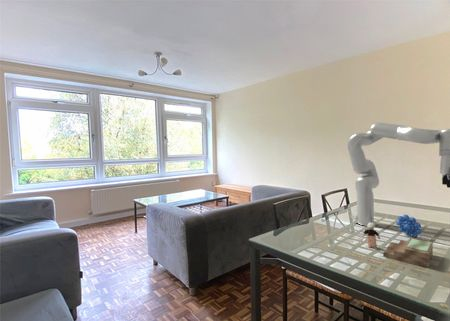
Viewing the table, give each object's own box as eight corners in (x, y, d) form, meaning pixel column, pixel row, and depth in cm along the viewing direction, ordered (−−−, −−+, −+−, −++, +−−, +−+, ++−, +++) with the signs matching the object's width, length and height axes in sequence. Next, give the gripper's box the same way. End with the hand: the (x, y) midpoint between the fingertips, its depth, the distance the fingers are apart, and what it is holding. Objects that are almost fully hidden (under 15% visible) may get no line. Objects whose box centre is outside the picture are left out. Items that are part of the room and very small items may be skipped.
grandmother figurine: (379, 246, 121) (379, 222, 121) (380, 249, 118) (380, 224, 117) (362, 244, 125) (361, 220, 124) (363, 247, 121) (362, 223, 120)
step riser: (383, 256, 111) (383, 243, 110) (391, 245, 122) (391, 233, 121) (428, 267, 99) (428, 253, 99) (432, 254, 110) (432, 241, 110)
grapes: (393, 235, 135) (393, 214, 135) (398, 232, 139) (397, 212, 139) (419, 241, 126) (419, 218, 125) (423, 237, 130) (423, 216, 130)
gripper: (435, 152, 131) (435, 183, 132) (443, 153, 117) (442, 188, 117) (454, 152, 127) (453, 183, 128) (464, 153, 112) (463, 189, 113)
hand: (448, 186), depth 123 cm, fingers open, 9 cm apart
